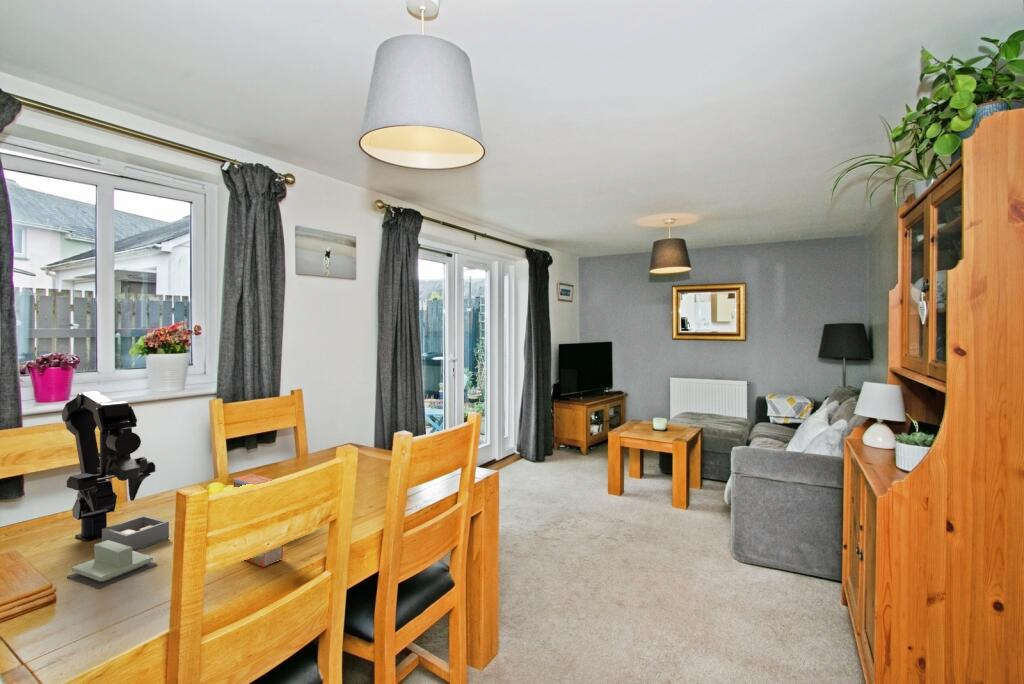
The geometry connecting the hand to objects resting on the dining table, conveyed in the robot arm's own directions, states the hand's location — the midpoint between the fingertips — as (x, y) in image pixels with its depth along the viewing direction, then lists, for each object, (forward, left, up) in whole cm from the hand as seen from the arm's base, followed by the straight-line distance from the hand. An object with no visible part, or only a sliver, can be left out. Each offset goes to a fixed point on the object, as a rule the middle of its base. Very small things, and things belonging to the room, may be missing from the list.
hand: (113, 505), depth 137 cm
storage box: (+1, +5, -12) cm, 13 cm away
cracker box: (+39, +13, -12) cm, 43 cm away
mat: (+14, -8, -12) cm, 20 cm away
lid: (+14, -8, -12) cm, 19 cm away
